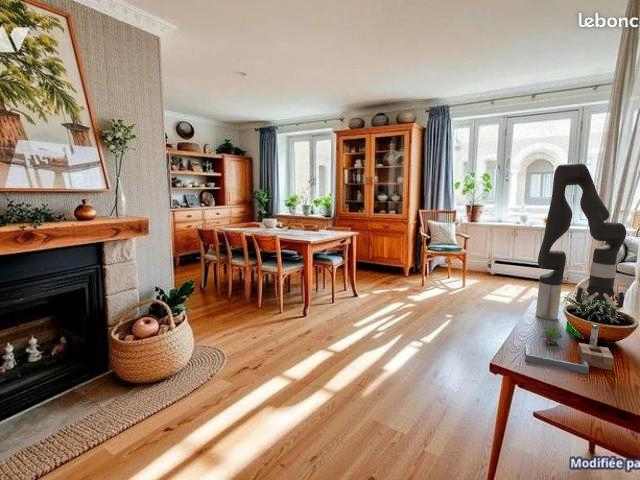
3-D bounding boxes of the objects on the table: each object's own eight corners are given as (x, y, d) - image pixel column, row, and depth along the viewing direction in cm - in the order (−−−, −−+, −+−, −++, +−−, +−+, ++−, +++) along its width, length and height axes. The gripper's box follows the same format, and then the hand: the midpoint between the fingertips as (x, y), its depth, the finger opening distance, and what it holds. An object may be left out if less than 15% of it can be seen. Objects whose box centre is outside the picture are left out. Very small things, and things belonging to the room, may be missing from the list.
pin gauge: (587, 348, 143) (590, 323, 141) (595, 350, 142) (599, 324, 140) (588, 351, 141) (591, 326, 139) (597, 353, 139) (600, 327, 138)
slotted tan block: (577, 353, 139) (578, 342, 138) (606, 359, 135) (607, 347, 134) (581, 364, 131) (582, 352, 130) (612, 370, 127) (613, 358, 126)
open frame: (524, 349, 143) (525, 343, 142) (582, 360, 134) (583, 354, 133) (525, 361, 133) (526, 354, 133) (588, 373, 125) (589, 367, 124)
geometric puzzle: (554, 346, 141) (561, 327, 142) (536, 339, 146) (543, 322, 148) (559, 352, 145) (566, 334, 146) (541, 345, 150) (548, 328, 152)
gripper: (623, 274, 136) (617, 315, 139) (578, 270, 143) (573, 309, 145) (629, 279, 129) (622, 321, 132) (581, 274, 136) (576, 315, 139)
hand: (596, 315), depth 139 cm, fingers open, 8 cm apart
